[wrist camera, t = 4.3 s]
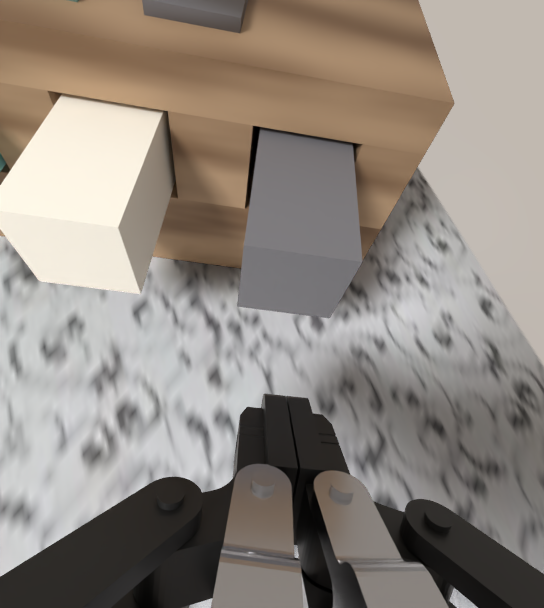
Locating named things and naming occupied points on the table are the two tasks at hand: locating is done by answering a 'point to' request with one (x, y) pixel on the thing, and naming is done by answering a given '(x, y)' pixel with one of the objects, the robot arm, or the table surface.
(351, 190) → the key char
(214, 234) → the block
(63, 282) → the key ivory
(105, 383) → the table surface
